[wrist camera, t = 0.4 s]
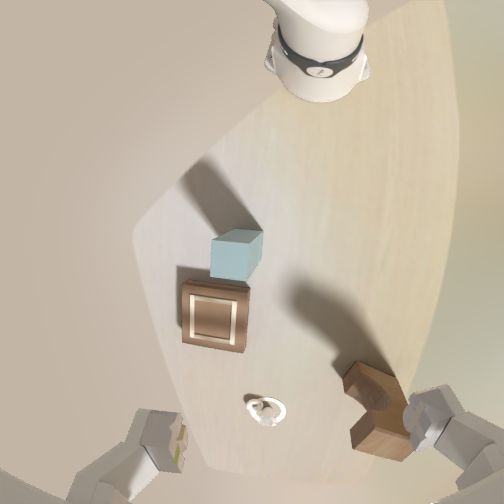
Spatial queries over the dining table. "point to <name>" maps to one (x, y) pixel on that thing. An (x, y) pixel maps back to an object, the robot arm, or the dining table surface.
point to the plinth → (215, 315)
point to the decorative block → (378, 413)
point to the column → (236, 254)
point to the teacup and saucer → (265, 411)
